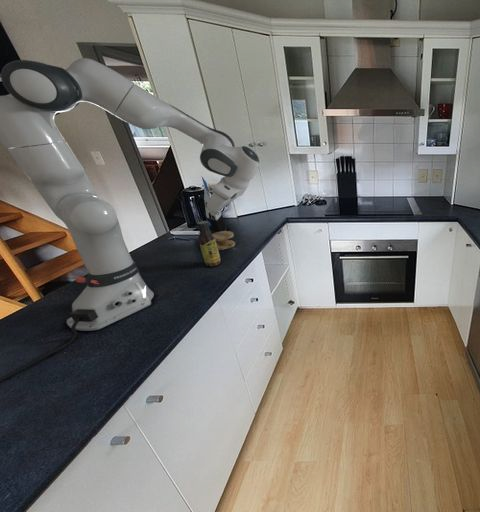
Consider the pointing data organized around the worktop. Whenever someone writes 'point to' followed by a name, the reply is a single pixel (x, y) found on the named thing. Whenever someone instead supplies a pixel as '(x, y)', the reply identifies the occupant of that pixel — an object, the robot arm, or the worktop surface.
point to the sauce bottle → (208, 245)
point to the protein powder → (215, 221)
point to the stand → (224, 239)
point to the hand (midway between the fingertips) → (219, 209)
